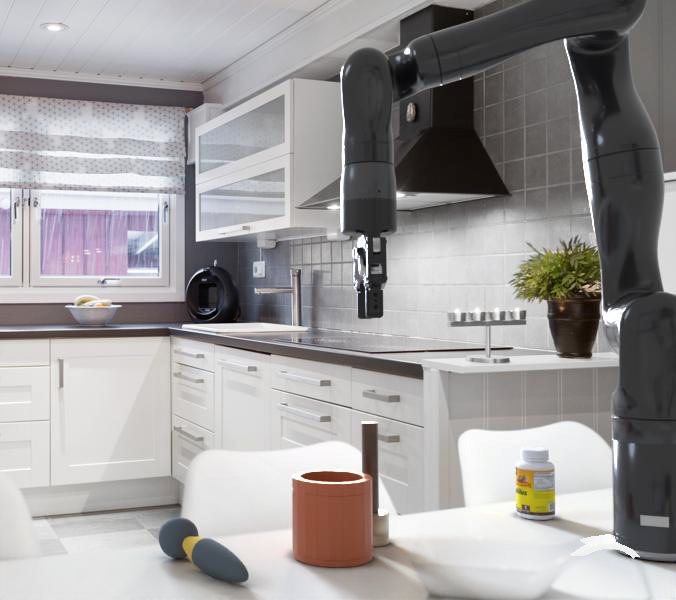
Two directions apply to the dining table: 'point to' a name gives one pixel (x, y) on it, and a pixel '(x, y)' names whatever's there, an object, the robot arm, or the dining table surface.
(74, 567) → the dining table surface
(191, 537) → the paintbrush
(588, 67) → the robot arm
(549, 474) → the supplement bottle
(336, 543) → the jar
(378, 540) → the brown rod with cap
